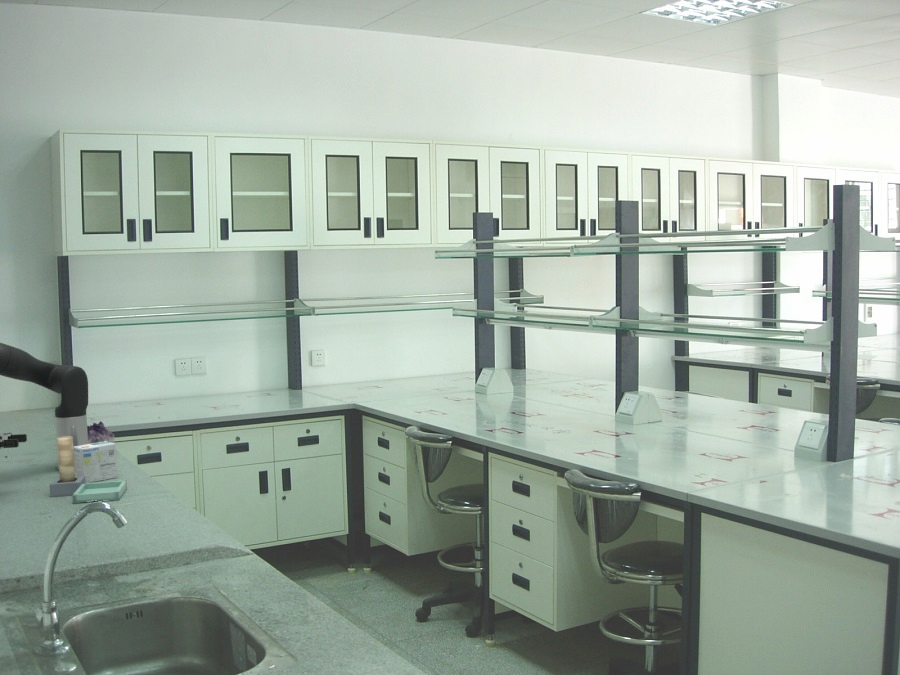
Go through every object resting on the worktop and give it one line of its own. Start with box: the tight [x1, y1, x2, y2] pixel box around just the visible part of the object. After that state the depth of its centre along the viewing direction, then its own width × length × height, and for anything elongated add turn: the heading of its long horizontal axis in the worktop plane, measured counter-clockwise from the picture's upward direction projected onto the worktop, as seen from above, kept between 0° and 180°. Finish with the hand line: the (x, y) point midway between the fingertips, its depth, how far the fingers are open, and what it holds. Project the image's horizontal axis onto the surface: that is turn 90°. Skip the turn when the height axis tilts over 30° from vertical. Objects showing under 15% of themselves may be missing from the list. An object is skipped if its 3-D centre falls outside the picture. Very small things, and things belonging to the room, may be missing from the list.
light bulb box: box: [73, 441, 118, 483], centre depth 274 cm, size 11×7×11 cm, turn 134°
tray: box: [71, 479, 128, 504], centre depth 254 cm, size 14×12×2 cm
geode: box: [87, 421, 116, 444], centre depth 322 cm, size 20×12×10 cm, turn 29°
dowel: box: [56, 436, 76, 483], centre depth 258 cm, size 4×4×16 cm
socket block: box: [49, 476, 86, 498], centre depth 259 cm, size 8×8×4 cm
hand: (22, 440), depth 255 cm, fingers open, 8 cm apart
